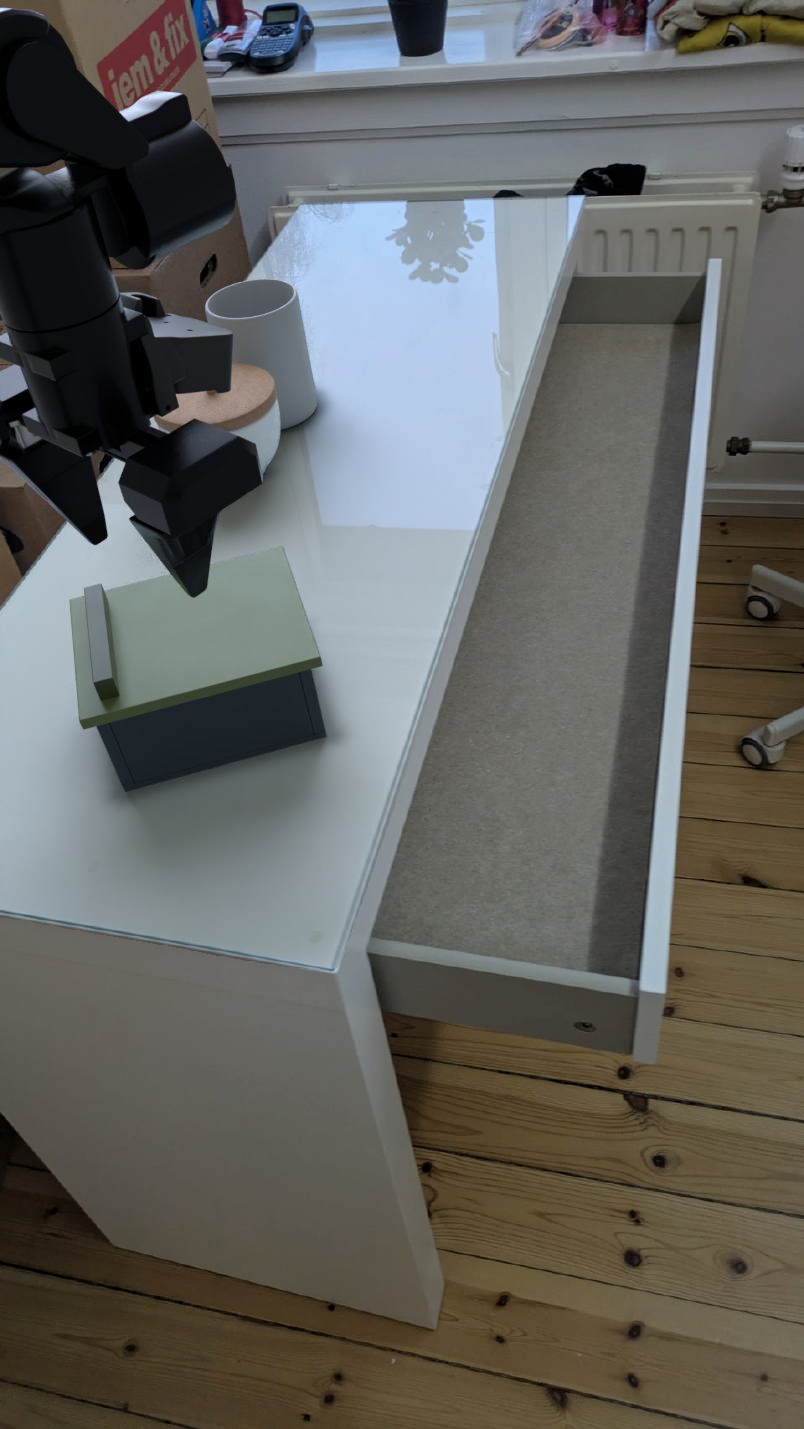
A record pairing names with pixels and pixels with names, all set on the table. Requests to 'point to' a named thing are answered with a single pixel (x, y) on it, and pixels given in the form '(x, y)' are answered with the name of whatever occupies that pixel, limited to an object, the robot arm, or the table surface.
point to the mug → (269, 339)
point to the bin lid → (188, 638)
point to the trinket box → (235, 410)
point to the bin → (214, 730)
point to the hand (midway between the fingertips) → (147, 566)
